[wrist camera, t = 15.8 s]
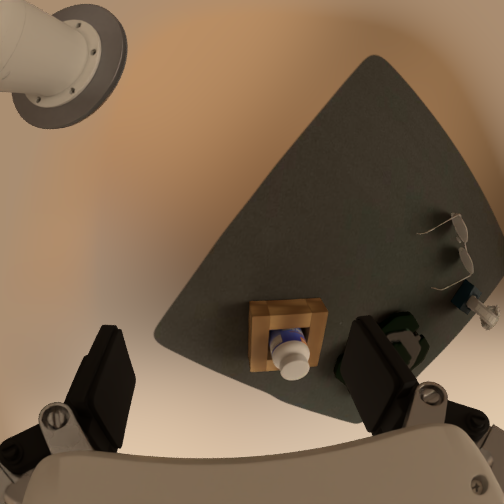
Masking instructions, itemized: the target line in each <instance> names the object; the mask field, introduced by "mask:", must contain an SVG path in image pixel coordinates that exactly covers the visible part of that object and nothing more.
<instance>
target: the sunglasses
mask: <svg viewBox="0 0 504 504" xmlns="http://www.w3.org/2000/svg"><path fill="white" fill-rule="evenodd" d="M451 219H452V222H453V225H454V228H455V230H456V232H457V233H458V235H459V237H460V239H461V240H462V241H463V242H464V243H465V248H466V242H467V241H468V232H467V228H466V225H465V223H464V221H463V220H462V218H461V215H460V214H456V213H451V218H450V219H448V220H447V221H449V220H451ZM447 221H445V222H447ZM445 222H444V223H445ZM444 223H442V224H444ZM442 224H440V225H442ZM440 225H439V226H440ZM437 227H438V226H437ZM435 228H436V227H435ZM435 228H433V229H435ZM433 229H431V230H429V231H428V232H430V231H432V230H433ZM428 232H425V233H428ZM425 233H416V234H425ZM456 239H457V241H458V242H460V243H461V240H460V239H459V238H458V237H457V236H456ZM459 255H460V258H461V261H462V263H463V265H464V266H465V268H466V269H467V271H468V272H469V273H470V275H469V276H471V274H472V273H473V263H472V260H471V258H470V256H469V254H468V253H467V249H466V250H465V249H464V248H462V247H460V248H459ZM469 276H467V277H465V278H463V279H462V280H464V279H466V278H468V277H469ZM462 280H460V281H462ZM460 281H458V282H460ZM458 282H456V283H458ZM456 283H454V284H456ZM454 284H452V285H454ZM452 285H451V286H452ZM448 287H449V286H448ZM448 287H446V288H448ZM431 288H432V289H436V290H444V289H446V288H444V289H437V288H434V287H431Z"/></svg>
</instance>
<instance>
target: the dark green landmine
mask: <svg viewBox="0 0 504 504" xmlns="http://www.w3.org/2000/svg"><path fill="white" fill-rule="evenodd" d="M379 327H380V328H381V330H382V331H383V332H384V334H385V335H386V336H387V338H388V339H389V341H390V342H391V343H392V345H393V346H394V348H395V349H396V350H397V352H398V353H399V355H400V356H401V357H402V359H403V360H404V362H405V363H406V365H407V366H408V367H409V369H410V370H413V369H414V368H415V367H416V366H418V365H419V364H420V363H421V362H422V361H423V360H424V358H425V356H426V354H427V352H428V350H429V344H428V342H427V341H426V339H425V337H424V336H423V335H422V334H421V335H418V333H417V332H416V330H417V329H418V328H419V325H418V323H417V321H416V319H415V318H414V316H413V315H412V314H411V313H410V312H398V313H393V314H391V315H390V316H389V317H388V318H387V319H385V320H384V321H383V322H382V323H381V324H379ZM343 356H344V353H343V354H341V355H340V356H339V357H338V358H337V361H336V364H335V368H334V374H335V376H336V378H338V379H339V380H340V381H341V382H343V383H344V384H345V381H344V379H343V377H342V375H341V372H340V367H341V363H342V359H343ZM345 385H346V384H345Z"/></svg>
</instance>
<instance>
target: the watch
mask: <svg viewBox="0 0 504 504" xmlns="http://www.w3.org/2000/svg"><path fill="white" fill-rule="evenodd" d="M481 294H482V293H481V292H480V291H479V290H478V289H477V288H476V287H475V286H474V285H472V284H471V283H470V282H468V281H467V280H466V279H465V281H464V282H463V284H462V285H461V287H460V288H459V290H458V291H457V293H456V294H455V296H454V297H453V299H452V300H451V302H452V303H453V304H454V305H455V306H456V307H457V308H459V309H460V310H461V311H463V312H464V313H466V314H467V315H468V313H469V312H470V311H471V310H472V311H475V312H476V313H477V314H478V315H479V316H480V319H481V324H482V326H483V327H484V328H485V329H486V330H489V329H491V328H493V327H494V326H495V325H496V323H497V322H498V319H499V317H500V310H499V309H498V308H499V306H498V305H496V307H495V306H487V307H486V306H485V305H484V304H483V303H481V302H480V301H479V300H478V299H479V297H480V295H481Z"/></svg>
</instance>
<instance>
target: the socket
mask: <svg viewBox="0 0 504 504" xmlns="http://www.w3.org/2000/svg"><path fill="white" fill-rule="evenodd" d="M327 316H328V310H327V309H326V307H325V305H324V303H323V302H322V300H321V298H309V299H290V300H270V301H249V334H248V359H249V366H250V372H261V371H274V370H280V369H278V368H277V367H276V366H275V365H274V363H273V359H272V355H271V351H270V346H269V344H268V340H269V330H276V329H290V328H301V330H302V333H303V335H304V338H305V341H306V343H307V346H308V348H309V352H310V356H309V360H308V364H309V367H313V366H317V364H318V360H319V355H320V351H321V346H322V341H323V337H324V332H325V327H326V321H327Z"/></svg>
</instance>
